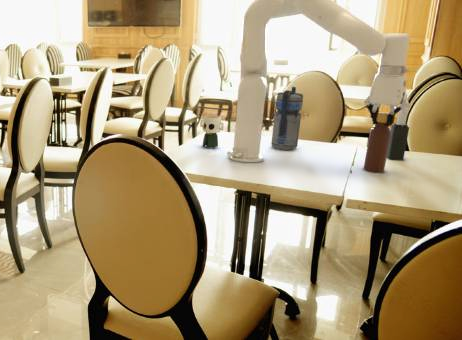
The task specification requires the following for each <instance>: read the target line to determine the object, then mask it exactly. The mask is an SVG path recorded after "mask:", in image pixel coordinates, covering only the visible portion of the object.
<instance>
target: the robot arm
mask: <svg viewBox="0 0 462 340" xmlns="http://www.w3.org/2000/svg"><path fill="white" fill-rule="evenodd" d="M301 14H302V15H303V16H305V18H307V19H309V21H310V20H311V22H314V23H315V24H316V25H318V26H319V27H321V28H322V29H323V30H325V31H327V32H328V33H330V34H332V35H335V36H337V37H339V38H341V39H342V40H344V41H346V42H347V43H349V44H350V45H351V46H353V47H354V48H356V50H357V51H358V52H359V53H360V54H362V55H366V56H369V57H373V56H374V57H375V56H376V55H377V56H378V55H380V58H379V64H378V72H377V74H375V76H374V78H373V81H372V84H371V86H370V91H369V95H368V96H367V97H366V99H365V100H364V101H363V103H364V104H365V105H366V106H368V107H369V109H370V110H371V112H372V118H371V121H372V125H375V124H377V121H376V118H377V113H378V112H380V109H381V106H382V105H383V106H389V113H390V114H389V115H388V118H387V124H386V126H389V127H392V125H394V123H395V117H396V114H398V112H399V111H400V110H402V109H405V108H407V107H408V104H407V102H406V100H405V97H406V94H407V75H405V74H406V73H407V74H408V73H409V72H410V68H407V66H406V62H407V56H408V50H409V45H410V39H411V38H410V34H408V33H403V32H389V33H381V32H380V31H378V30H376V29H375V28H374V27H373V26H370V25H369V24H368V23H366V22H365V21H363V20H362V19H360V18H359V17H357V16H355V14H353V13H351V12H350V11H349V10H347V9H346V8H344V7H342V6H341V5H339V4H338V3H337V2H335V1H333V0H254V1H252V3H251V4H250V5H249V6H248V8H247V9H246V11H245V13H244V15H243V19H242V26H241V44H240V45H241V46H240V47H241V48H240V56H239V61H240V82H239V85H238V88H237V89H238V90H237V105H236V114H235V117H236V118H235V129H234V137H233V138H234V139H233V147H232V150H230V151H227V152H226V156H227V157H228V158H229V159H230V160H232V161H236V162H241V163H259V162H263V160H264V156H263V155H261V154H260V151H261V142H262V141H261V140H262V132H263V121H264V112H265V102H266V95H267V80H268V79H267V74H268V51H267V34H268V24H269V22H270V20H272V19H276V18H277V19H279V18H285V17H291V16H296V15H301ZM401 104H402V105H401ZM400 105H401V106H400ZM408 108H409V107H408Z"/></svg>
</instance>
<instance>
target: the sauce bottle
mask: <svg viewBox="0 0 462 340" xmlns="http://www.w3.org/2000/svg"><path fill="white" fill-rule="evenodd" d="M386 124H387V123H382V122H377V124H374V125H373V127H371V128H370V131H369V136H368V141H367V147H366V152H365V158H364V162H363V170H364V171H366V172H371V173H377V174H378V173H380V174H381V173H384V172H385V167H386V162H387V159H388V158H387V152H388V147H389V142H390V137H391V127H390V126H386Z"/></svg>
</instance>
